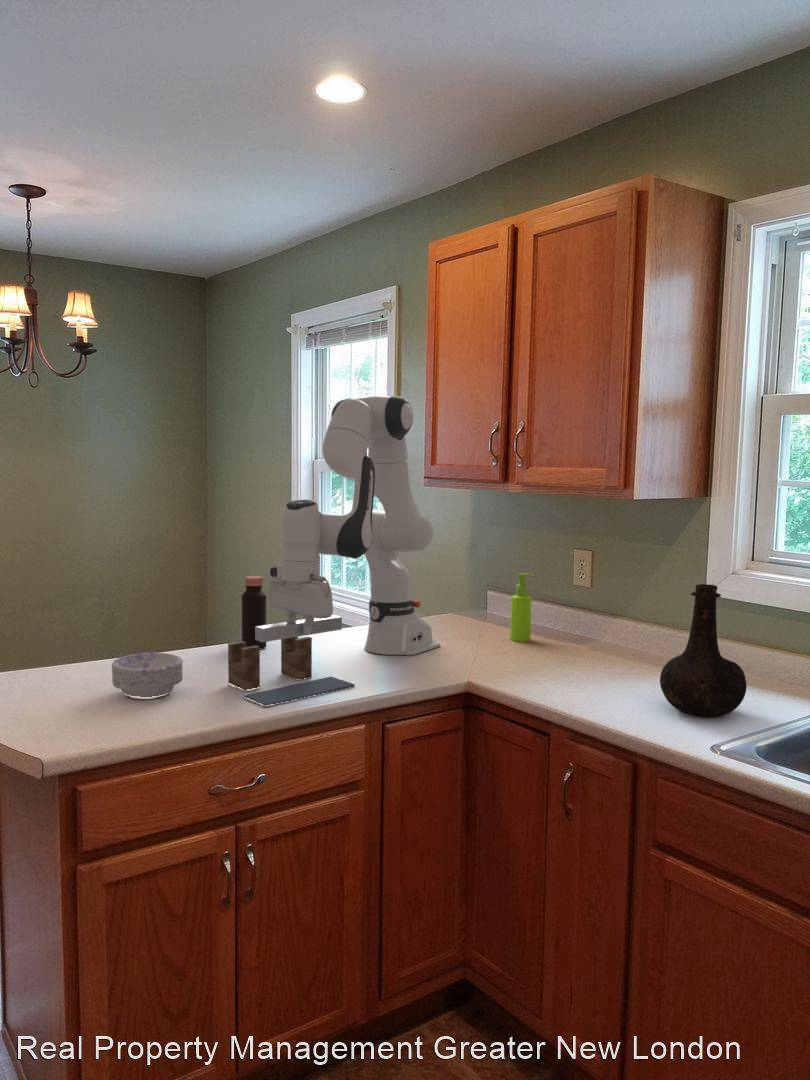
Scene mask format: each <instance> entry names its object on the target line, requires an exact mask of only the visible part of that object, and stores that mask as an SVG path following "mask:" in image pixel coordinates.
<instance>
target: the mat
mask: <svg viewBox="0 0 810 1080" xmlns="http://www.w3.org/2000/svg"><path fill="white" fill-rule="evenodd" d="M354 686H355V687H356V685H355V683H352V682H350V681H346V680H343V679H340V678H337V677H334V676H328V677H322V678H317V679H313V680H309V681H304V682H299V683H295V684H290V685H285V686H281V687H277V688H272V689H266V690H262V691H259V692H253V693H249V694H244V695H242V697H243V696H244V697H246V698H249V699H251V700H254V701H256V702H258V703H261V704H263V705H265V706H266V705H270V704H276V703H281V702H286V701H291V700H295V699H300V698H304V697H308V696H313V695H317V696H319V695H318V694H321V695H323V694H322V693H326V694H328V693H327V692H330V693H333V692H332V691H334V692H337V691H336V690H339V691H342V690H341V689H343V690H346V689H345V688H347V689H350V688H349V687H351V688H354ZM313 697H314V696H313ZM304 699H305V698H304ZM300 700H301V699H300Z"/></svg>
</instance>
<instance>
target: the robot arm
mask: <svg viewBox="0 0 810 1080" xmlns="http://www.w3.org/2000/svg"><path fill="white" fill-rule="evenodd" d="M412 409H413V408H412V406H411V404H410V402H409V401H408V400H407V399H406V398H405V397H402V396H396V395H391V396H388V395H387V396H386V395H370V396H363V397H355V398H350V397H349V398H345V399H341V400H339V401H338V402H337V403H336V404H335V405H334V406H333V408H332V411H331V413H330V414H331V415H330V421H329V423H328V425H327V429H326V431H325V434H324V438H323V442H322V445H321V456H322V459H323V461H324V463H325V464H326V466H327V467H328V468H329V469H330V470H331V471H333V472H334V473H335V474H337V475H338V476H340V477H343V478H344V479H347V480H349V481H351V482H353V494H352V504H351V505H352V506H351V509H350V511H349V512H347V513H346V514H345V513H344V514H338V513H337V514H335V513H334V514H333V513H325V512H323V511H321V510H319V505H318V502H317V501H314V500H311V499H298V500H292V501H289V502H288V503H286V504H285V505H284V507H283V512H282V516H281V517H282V518H281V526H280V527H281V529H280V532H281V533H280V542H281V545H282V553H281V556H280V563H278V564H276V565H273V566H269V567H268V571H267V573H268V574H267V575H268V576H269V580H268V601H269V604H270V606H271V607H272V608H276V609H279V610H283V611H285V615H286V618H287V622H290V621H297V620H298V619H297V615H299V614H300V615H303V619H302V620H305V621H304V625H303V626H301V633H303V634H310V633H311V626H312V623H313V621H314V619H315V618H318V619H323V618H329V617H331V615H334V614H333V613H334V606H333V605H334V603H333V593H332V589H331V586H330V582H329V581H328V579H327V578H326V577H325V576H323V575H321V557H320V556H321V555H326V556H327V555H328V556H340V557H344V558H350V559H355V560H356V559H359V558H361V557H362V556H363V555H364V556H365V558H366V561H367V565H368V568H369V573H370V574H369V575H370V576H369V577H370V598H369V602H368V613H369V622H368V630H367V631H368V632H367V637H366V641H365V644H364V648H363V649H364V651H366V652H369V653H373V654H379V655H388V656H389V655H395V656H397V655H398V656H399V655H401V656H414V655H417V654H421V653H423V652H427V651H431V650H432V649H436V648H439V647H441V642H440V641H438V640H436V639H435V638H434V639H433V632H432V627H431V625H430V624H429V623H428V622H427V621H426V620H424V619H423V618H422V617H421V616H420V615H419V614H418V613H417V612H416V610H415V608H417V609H418V608H421V606H422V602H421V600H417V599H414V600H412V599H411V573H410V571H409V569H408V568H407V567H406V566H405V565H404V564H403V563H402V562H401V560H400V558H399V556H398V553H397V552H401V553H416V552H423V551H425V550H427V548H428V547H429V546H430V545H431V543H432V541H433V536H434V529H433V525H432V522H431V521H430V519H429V518H428V517H426V516H425V514H424V513H423V512H422V511H421V510H420V509H419V507H418V505H417V503H416V501H415V499H414V495H413V493H412V490H411V484H410V473H409V457H408V447H407V441H406V435H407V434H408V433H409V431H410V430H411V428H412V425H413V420H414V417H413V416H414V415H413V410H412ZM374 498H377V499H378V501H380V503H381V505H382V508H383V510H377V509H373V508H374V500H375V499H374Z"/></svg>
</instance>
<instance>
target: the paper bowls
mask: <svg viewBox="0 0 810 1080" xmlns="http://www.w3.org/2000/svg"><path fill="white" fill-rule="evenodd" d="M111 673H112V674H111V679H112V686H113V687H115V688H117V689H120V690H121V691H122V693H123V694H124V693H125V694H127V695H131V696H140V697H152V696H159V695H163V694H166V693H169V692H170V693H171V692H172V691H173V689H174V688H175V686H176V685H177V684H178V685H179V684H180V683H181V682H182V681H183V677H184V676H183V659H182V657H180V656H179V655H177V654H173V653H168V652H167V653H166V652H141V653H134V654H129V655H128V654H127V655H124V656H121V657H119V658H116V659H114V660H113V661H112V663H111ZM170 693H169V694H170Z"/></svg>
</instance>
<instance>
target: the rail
mask: <svg viewBox="0 0 810 1080" xmlns="http://www.w3.org/2000/svg"><path fill="white" fill-rule="evenodd" d="M342 620H343V617H342V616H339V615H334V614H332V615H331V617H329V618H323V619H318V618H315V619H314V621H313V623H312V626H311V633H310V634H303V633H301V626H303V625H304V621H305V620H304V619H297V621H290V622H289V621H284V622H277V623H271V624H270V623H269V624H266V625H262V626H256V627H255V640H257V641H260V642H266V643H267V642H273V641H281V639H286V638H293V637H298V638H300V637H306V636H311V635H317V634H323V633H330V632H336V631H341V630H342V628H343V627H342V625H343V621H342Z"/></svg>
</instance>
